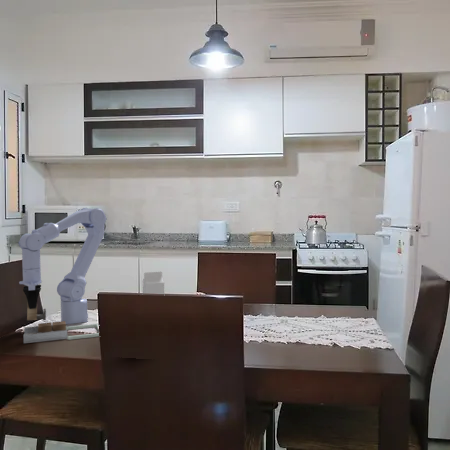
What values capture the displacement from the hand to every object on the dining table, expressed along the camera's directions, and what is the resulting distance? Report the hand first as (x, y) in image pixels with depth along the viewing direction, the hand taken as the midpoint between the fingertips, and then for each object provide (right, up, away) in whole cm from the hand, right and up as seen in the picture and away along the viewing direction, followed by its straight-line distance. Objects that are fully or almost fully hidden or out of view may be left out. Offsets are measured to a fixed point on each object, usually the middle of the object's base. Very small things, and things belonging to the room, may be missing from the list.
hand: (32, 307), depth 158 cm
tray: (+19, -9, -3) cm, 21 cm away
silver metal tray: (+8, -9, -8) cm, 14 cm away
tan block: (+1, -4, +1) cm, 4 cm away
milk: (+43, -9, -8) cm, 45 cm away
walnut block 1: (+7, -8, -8) cm, 14 cm away
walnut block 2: (+11, -8, -6) cm, 15 cm away
